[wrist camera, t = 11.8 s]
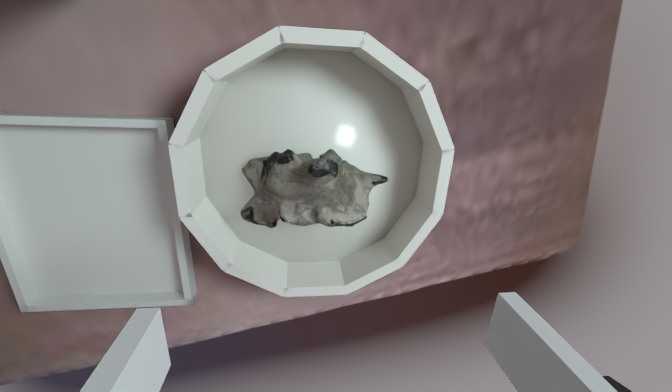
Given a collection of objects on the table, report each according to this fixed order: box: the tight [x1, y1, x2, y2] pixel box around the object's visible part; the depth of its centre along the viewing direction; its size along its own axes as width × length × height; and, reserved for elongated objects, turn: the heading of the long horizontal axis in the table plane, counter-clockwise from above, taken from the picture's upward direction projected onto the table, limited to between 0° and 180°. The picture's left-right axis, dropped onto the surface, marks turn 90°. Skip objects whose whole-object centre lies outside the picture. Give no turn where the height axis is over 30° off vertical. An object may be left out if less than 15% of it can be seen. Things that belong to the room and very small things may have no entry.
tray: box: [0, 113, 197, 312], centre depth 33 cm, size 19×22×2 cm
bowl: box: [168, 26, 455, 297], centre depth 32 cm, size 26×26×6 cm
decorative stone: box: [241, 149, 388, 228], centre depth 31 cm, size 16×9×10 cm, turn 103°
